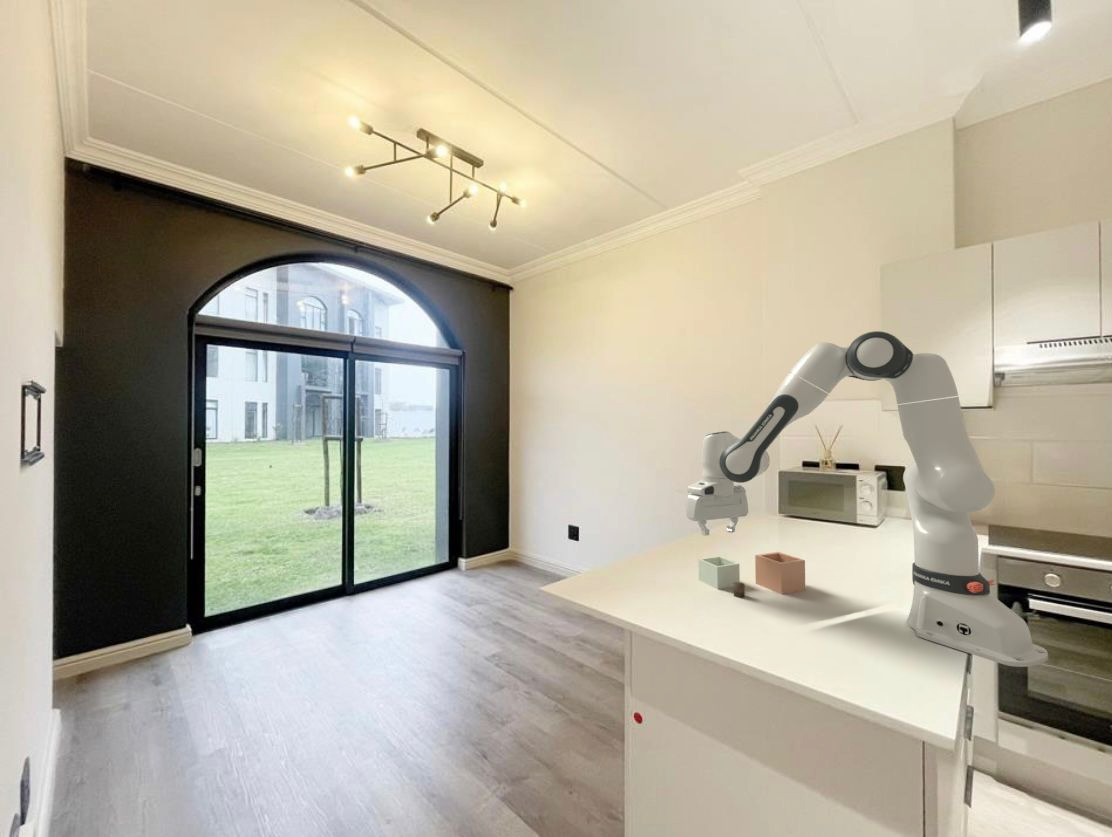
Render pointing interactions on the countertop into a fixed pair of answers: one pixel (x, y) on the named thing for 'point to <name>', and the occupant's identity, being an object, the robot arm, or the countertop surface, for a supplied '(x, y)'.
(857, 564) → the countertop surface
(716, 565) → the tub
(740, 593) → the lid
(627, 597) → the countertop surface
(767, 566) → the planter
